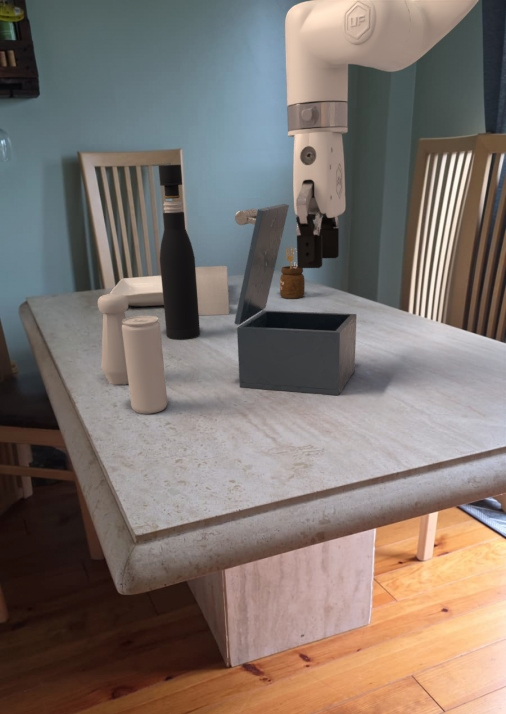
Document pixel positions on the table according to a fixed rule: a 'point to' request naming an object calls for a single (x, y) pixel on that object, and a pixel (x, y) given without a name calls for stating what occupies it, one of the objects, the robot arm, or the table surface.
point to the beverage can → (145, 364)
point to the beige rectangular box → (212, 290)
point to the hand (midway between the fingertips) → (319, 262)
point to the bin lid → (260, 257)
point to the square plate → (141, 290)
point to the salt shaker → (113, 337)
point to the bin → (297, 351)
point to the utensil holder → (292, 280)
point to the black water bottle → (177, 263)
